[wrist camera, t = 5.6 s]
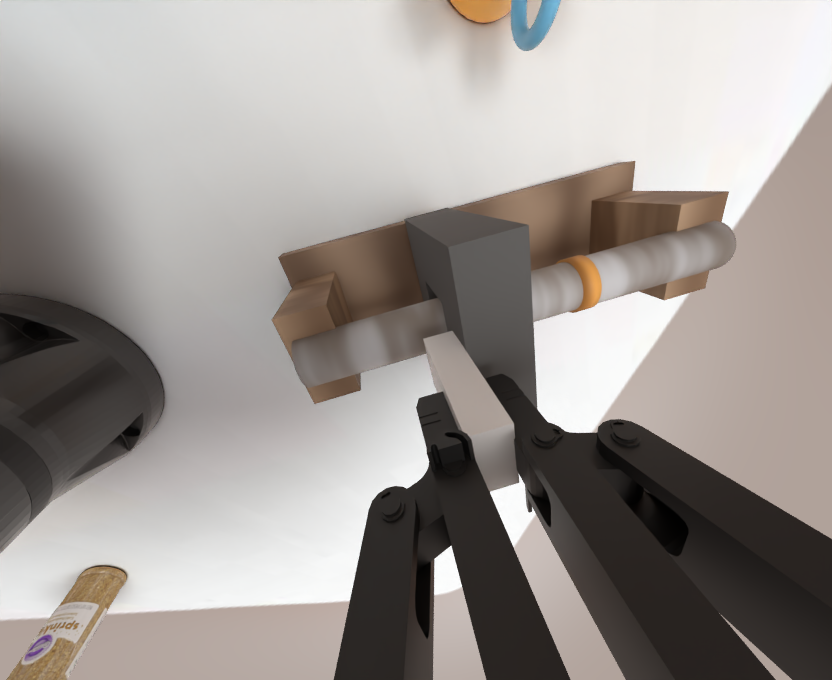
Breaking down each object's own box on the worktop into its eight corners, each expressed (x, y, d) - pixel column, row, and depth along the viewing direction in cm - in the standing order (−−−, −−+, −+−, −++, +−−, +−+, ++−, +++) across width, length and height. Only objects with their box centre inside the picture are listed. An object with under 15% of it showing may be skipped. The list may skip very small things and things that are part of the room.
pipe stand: (329, 360, 28) (315, 447, 18) (282, 253, 23) (232, 297, 14) (610, 279, 29) (730, 321, 20) (620, 162, 24) (784, 145, 15)
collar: (435, 355, 25) (484, 457, 16) (404, 219, 20) (448, 246, 11) (469, 345, 26) (538, 440, 16) (446, 207, 20) (528, 224, 11)
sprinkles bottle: (106, 559, 34) (-27, 757, 22) (138, 577, 36) (31, 766, 24) (69, 574, 34) (-84, 780, 22) (103, 591, 36) (-20, 786, 24)
